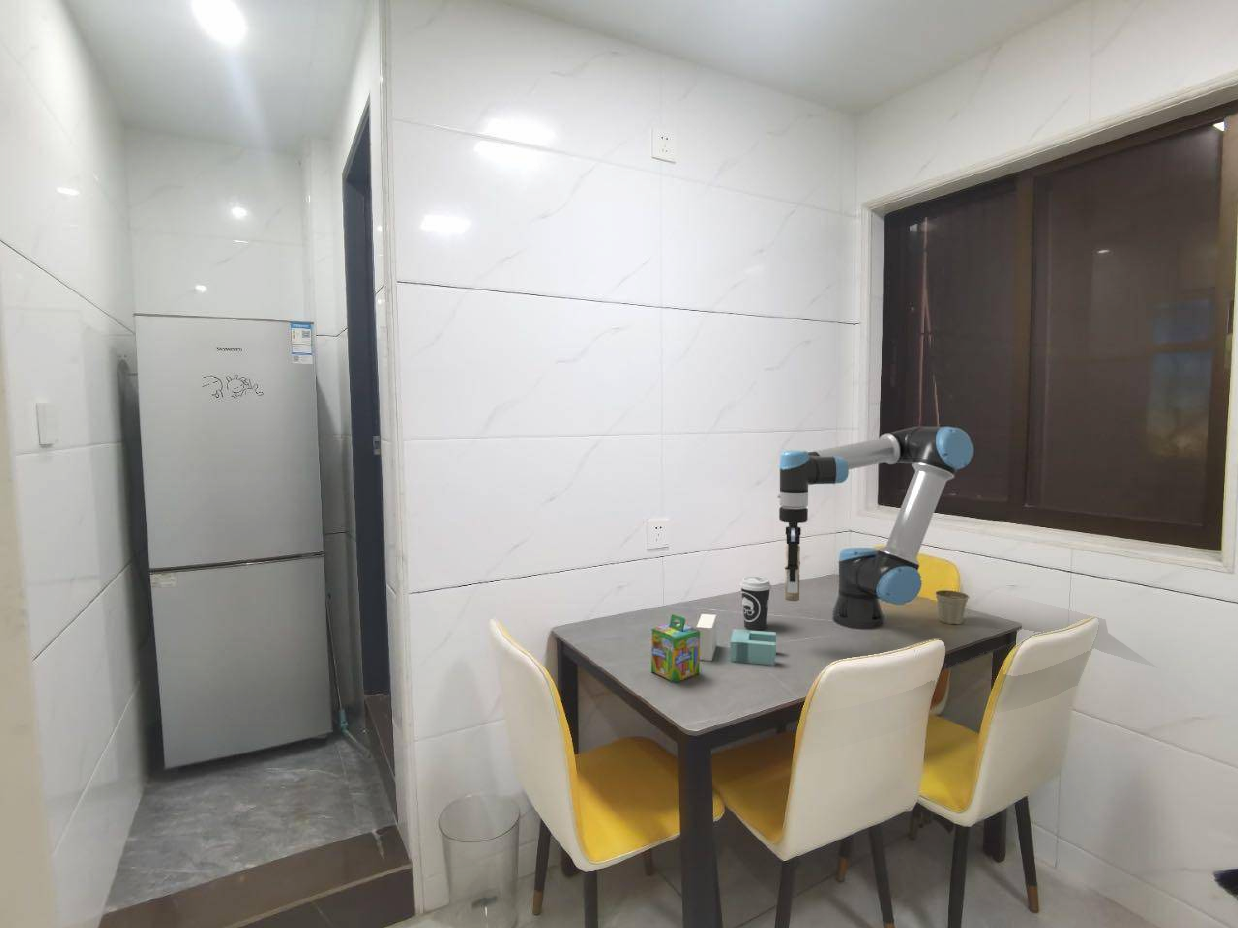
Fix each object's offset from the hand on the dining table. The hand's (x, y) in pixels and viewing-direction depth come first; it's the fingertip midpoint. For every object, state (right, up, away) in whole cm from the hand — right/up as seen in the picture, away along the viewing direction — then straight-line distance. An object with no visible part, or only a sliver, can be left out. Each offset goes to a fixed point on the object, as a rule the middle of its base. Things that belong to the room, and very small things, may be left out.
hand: (792, 590), depth 169 cm
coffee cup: (-6, -16, +18) cm, 25 cm away
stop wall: (-24, -17, 0) cm, 29 cm away
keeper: (-11, -17, -4) cm, 21 cm away
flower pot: (+56, -14, +21) cm, 61 cm away
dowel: (0, -3, 0) cm, 3 cm away
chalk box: (-34, -19, -13) cm, 41 cm away
